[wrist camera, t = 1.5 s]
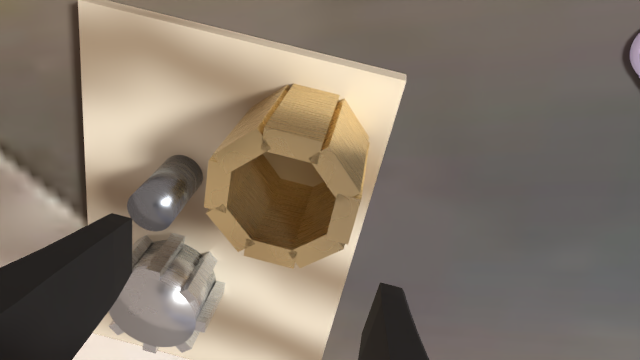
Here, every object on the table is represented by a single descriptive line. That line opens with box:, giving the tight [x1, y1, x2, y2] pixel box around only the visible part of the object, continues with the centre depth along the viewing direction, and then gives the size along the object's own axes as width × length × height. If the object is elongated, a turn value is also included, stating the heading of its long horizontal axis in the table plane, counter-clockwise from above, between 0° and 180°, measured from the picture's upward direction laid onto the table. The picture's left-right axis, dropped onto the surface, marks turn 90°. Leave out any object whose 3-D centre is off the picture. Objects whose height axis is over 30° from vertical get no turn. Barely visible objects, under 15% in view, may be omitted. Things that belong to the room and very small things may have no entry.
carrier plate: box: [78, 0, 406, 360], centre depth 25 cm, size 20×14×1 cm
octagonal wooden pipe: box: [204, 84, 370, 269], centre depth 19 cm, size 6×6×5 cm
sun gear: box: [109, 233, 225, 353], centre depth 25 cm, size 6×6×3 cm
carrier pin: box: [127, 155, 203, 231], centre depth 22 cm, size 2×2×4 cm
